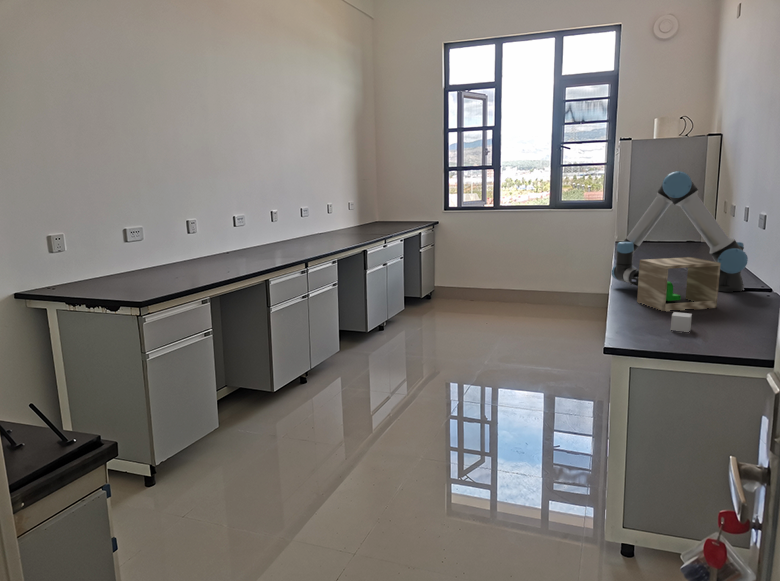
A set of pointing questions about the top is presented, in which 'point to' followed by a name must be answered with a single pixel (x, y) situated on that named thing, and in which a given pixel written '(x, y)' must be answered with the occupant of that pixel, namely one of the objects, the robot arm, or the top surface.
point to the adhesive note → (681, 321)
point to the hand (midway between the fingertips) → (667, 285)
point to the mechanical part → (671, 293)
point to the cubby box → (698, 283)
